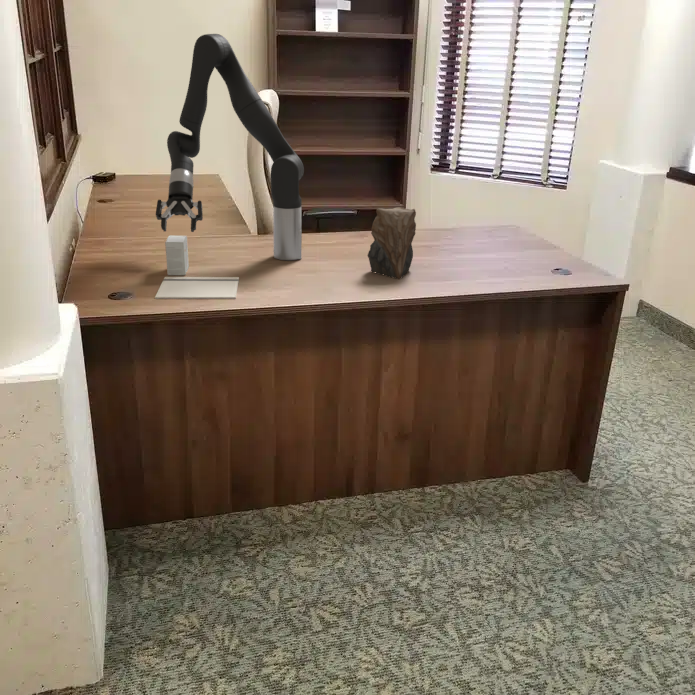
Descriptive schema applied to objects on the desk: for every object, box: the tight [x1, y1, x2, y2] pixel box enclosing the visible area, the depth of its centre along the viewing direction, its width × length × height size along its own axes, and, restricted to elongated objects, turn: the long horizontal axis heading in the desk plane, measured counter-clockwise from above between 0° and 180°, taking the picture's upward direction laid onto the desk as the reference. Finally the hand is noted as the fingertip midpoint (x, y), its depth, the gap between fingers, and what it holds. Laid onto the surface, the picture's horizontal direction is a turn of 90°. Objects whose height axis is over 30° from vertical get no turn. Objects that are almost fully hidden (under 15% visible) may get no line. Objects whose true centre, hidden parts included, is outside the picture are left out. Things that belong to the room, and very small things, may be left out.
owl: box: [367, 206, 417, 280], centre depth 217 cm, size 13×13×20 cm
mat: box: [154, 276, 240, 300], centre depth 198 cm, size 22×18×1 cm
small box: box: [164, 234, 190, 276], centre depth 210 cm, size 8×6×10 cm
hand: (178, 230), depth 214 cm, fingers open, 8 cm apart
